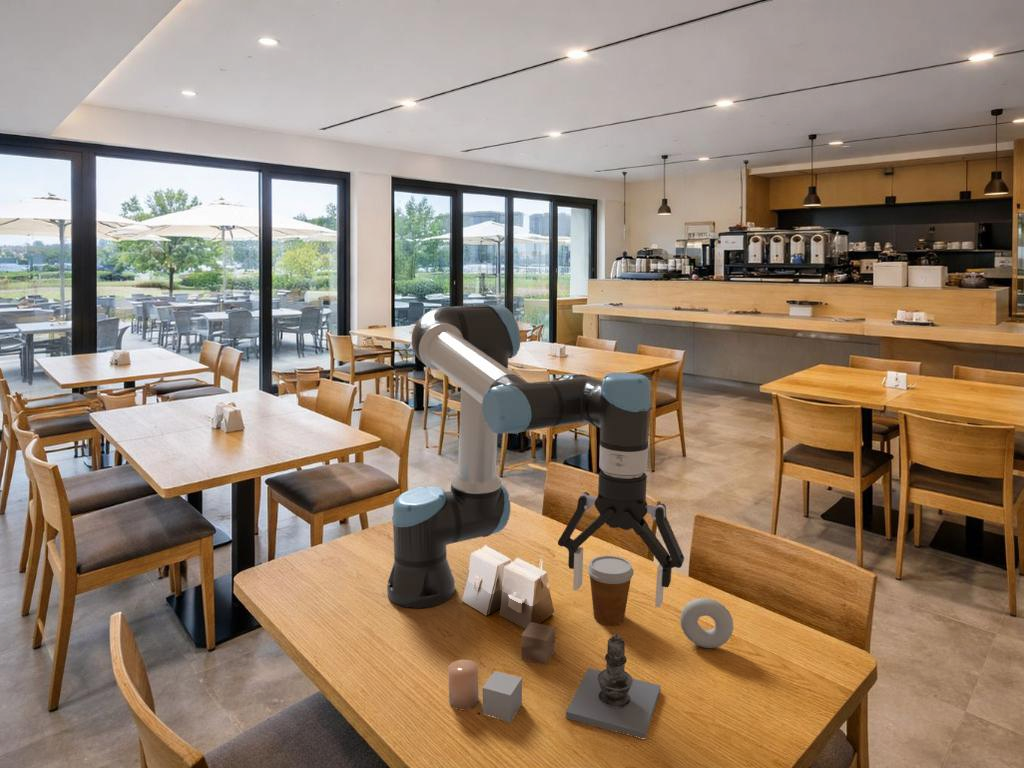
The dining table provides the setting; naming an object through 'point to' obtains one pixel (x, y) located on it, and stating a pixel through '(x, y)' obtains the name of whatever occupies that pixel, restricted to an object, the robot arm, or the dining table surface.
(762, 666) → the dining table surface
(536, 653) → the walnut block
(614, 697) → the salt shaker
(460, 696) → the peach rounded capsule
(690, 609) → the donut
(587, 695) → the slate board
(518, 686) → the grey block
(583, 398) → the robot arm
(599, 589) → the disposable coffee cup
